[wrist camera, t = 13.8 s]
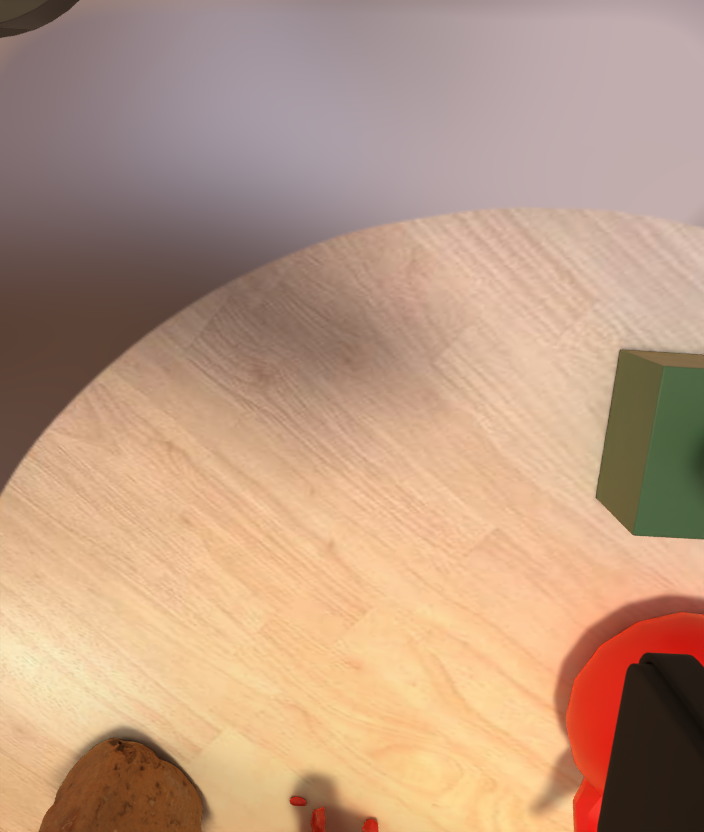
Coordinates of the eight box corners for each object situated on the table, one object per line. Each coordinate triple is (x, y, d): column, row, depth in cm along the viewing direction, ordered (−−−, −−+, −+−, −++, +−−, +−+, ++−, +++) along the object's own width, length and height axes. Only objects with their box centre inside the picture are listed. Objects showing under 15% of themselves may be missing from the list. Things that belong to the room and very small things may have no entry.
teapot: (711, 509, 44) (842, 604, 33) (856, 643, 47) (1026, 776, 35) (455, 747, 49) (489, 905, 37) (600, 857, 52) (675, 1038, 40)
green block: (619, 349, 42) (663, 366, 36) (760, 358, 42) (826, 376, 36) (595, 497, 44) (632, 535, 38) (728, 505, 44) (785, 544, 39)
